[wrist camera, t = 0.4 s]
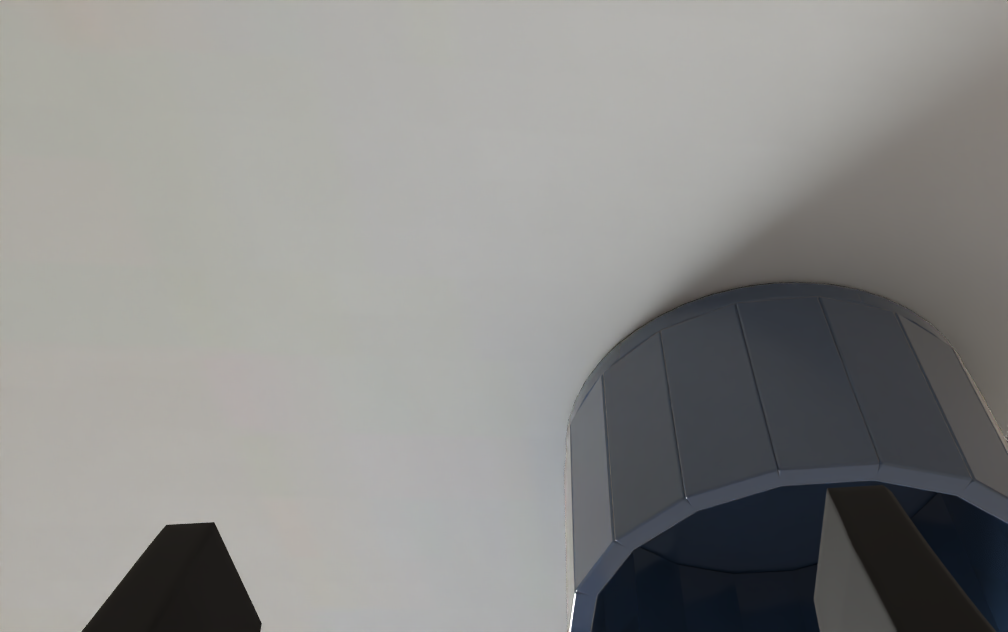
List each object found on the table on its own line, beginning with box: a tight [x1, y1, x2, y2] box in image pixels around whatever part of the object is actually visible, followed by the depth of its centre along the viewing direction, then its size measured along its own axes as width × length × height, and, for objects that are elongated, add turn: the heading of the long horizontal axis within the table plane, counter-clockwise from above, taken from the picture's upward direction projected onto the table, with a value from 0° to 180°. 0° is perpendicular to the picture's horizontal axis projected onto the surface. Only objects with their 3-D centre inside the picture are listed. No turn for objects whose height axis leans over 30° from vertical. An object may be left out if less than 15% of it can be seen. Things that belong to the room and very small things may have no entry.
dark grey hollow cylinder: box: [564, 282, 1008, 632], centre depth 22 cm, size 10×10×6 cm
